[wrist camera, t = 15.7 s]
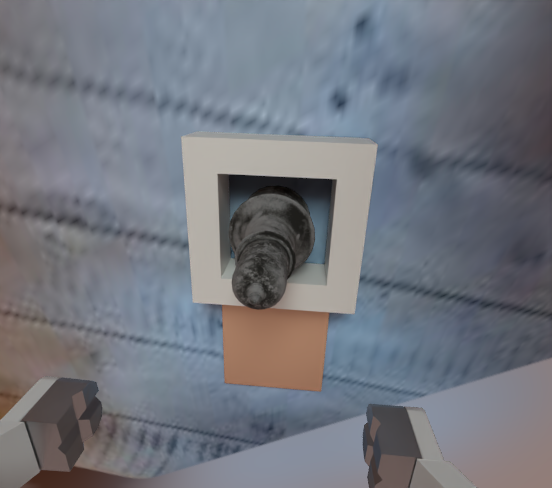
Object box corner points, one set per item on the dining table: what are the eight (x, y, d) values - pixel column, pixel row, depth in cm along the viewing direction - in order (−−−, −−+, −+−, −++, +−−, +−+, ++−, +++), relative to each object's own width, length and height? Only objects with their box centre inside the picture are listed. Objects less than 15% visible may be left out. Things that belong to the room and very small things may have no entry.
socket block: (368, 138, 24) (377, 144, 21) (349, 290, 29) (354, 314, 26) (197, 131, 25) (181, 136, 22) (205, 280, 30) (193, 302, 27)
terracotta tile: (329, 304, 30) (329, 308, 29) (320, 386, 33) (321, 391, 33) (223, 296, 30) (221, 300, 30) (226, 378, 34) (224, 383, 33)
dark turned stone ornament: (229, 240, 28) (179, 333, 17) (250, 170, 26) (207, 225, 15) (299, 263, 28) (293, 369, 17) (325, 196, 26) (338, 269, 15)
